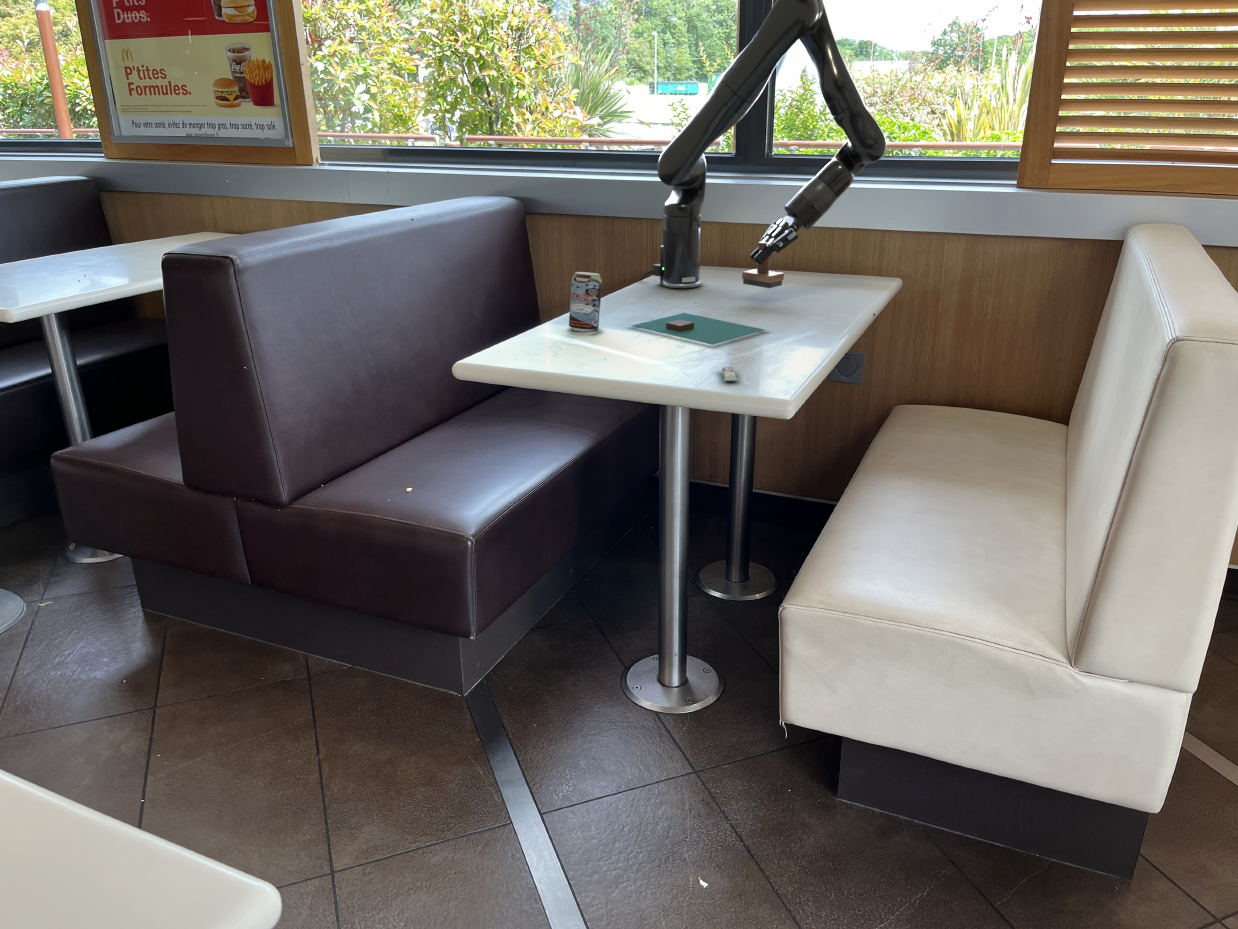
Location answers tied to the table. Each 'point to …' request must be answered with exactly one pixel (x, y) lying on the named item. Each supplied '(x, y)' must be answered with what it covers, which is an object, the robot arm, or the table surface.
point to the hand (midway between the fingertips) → (754, 260)
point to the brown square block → (680, 325)
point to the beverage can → (585, 301)
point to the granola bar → (729, 374)
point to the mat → (701, 328)
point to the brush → (762, 273)
